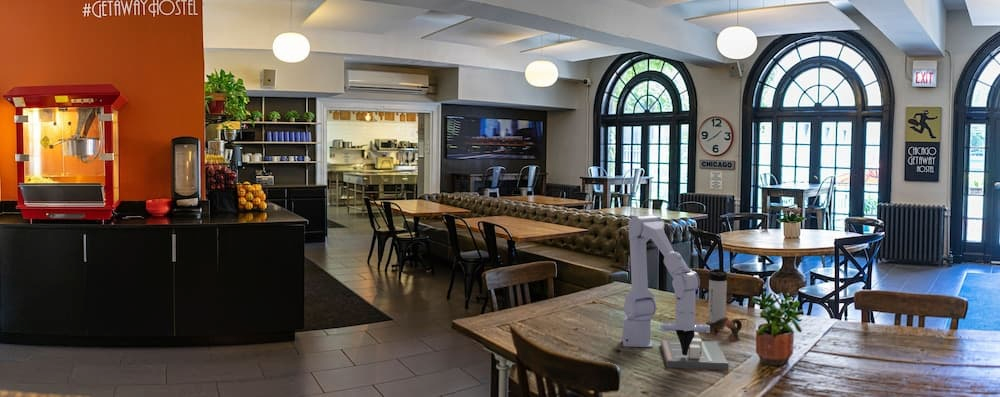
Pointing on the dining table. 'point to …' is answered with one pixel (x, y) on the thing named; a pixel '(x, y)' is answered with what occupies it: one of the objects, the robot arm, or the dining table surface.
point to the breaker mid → (697, 342)
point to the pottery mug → (729, 325)
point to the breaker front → (694, 351)
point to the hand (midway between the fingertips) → (684, 354)
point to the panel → (708, 358)
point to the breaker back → (696, 335)
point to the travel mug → (717, 295)
